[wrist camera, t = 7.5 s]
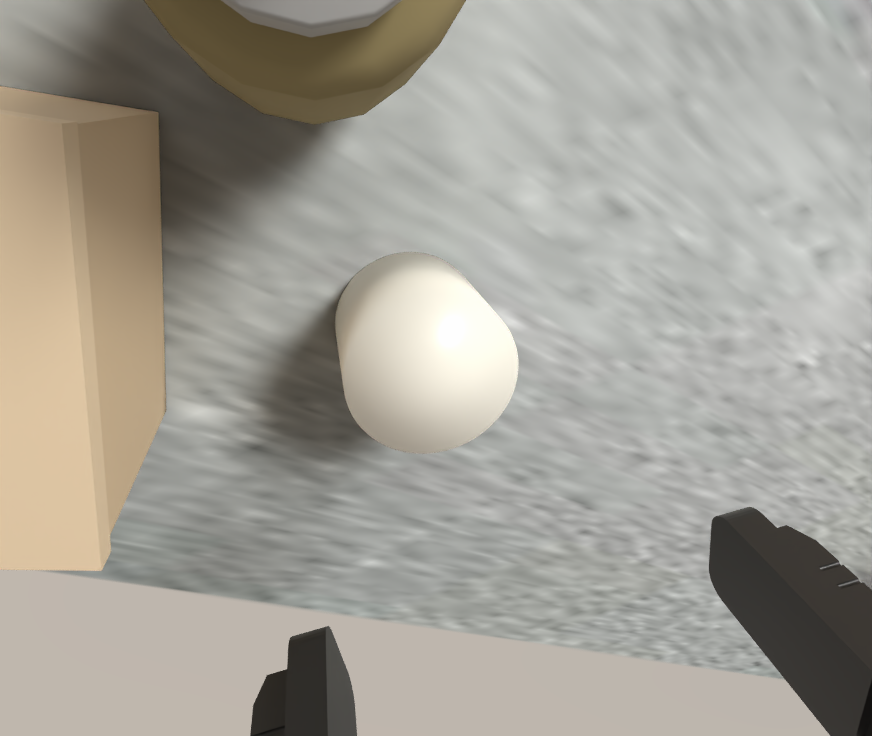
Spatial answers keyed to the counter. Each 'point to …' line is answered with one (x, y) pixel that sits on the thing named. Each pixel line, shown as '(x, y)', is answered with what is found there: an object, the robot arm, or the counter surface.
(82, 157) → the cardboard box
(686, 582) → the counter surface
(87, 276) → the lid
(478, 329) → the rounded white cylinder
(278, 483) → the counter surface
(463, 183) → the counter surface
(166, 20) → the squeeze bottle
